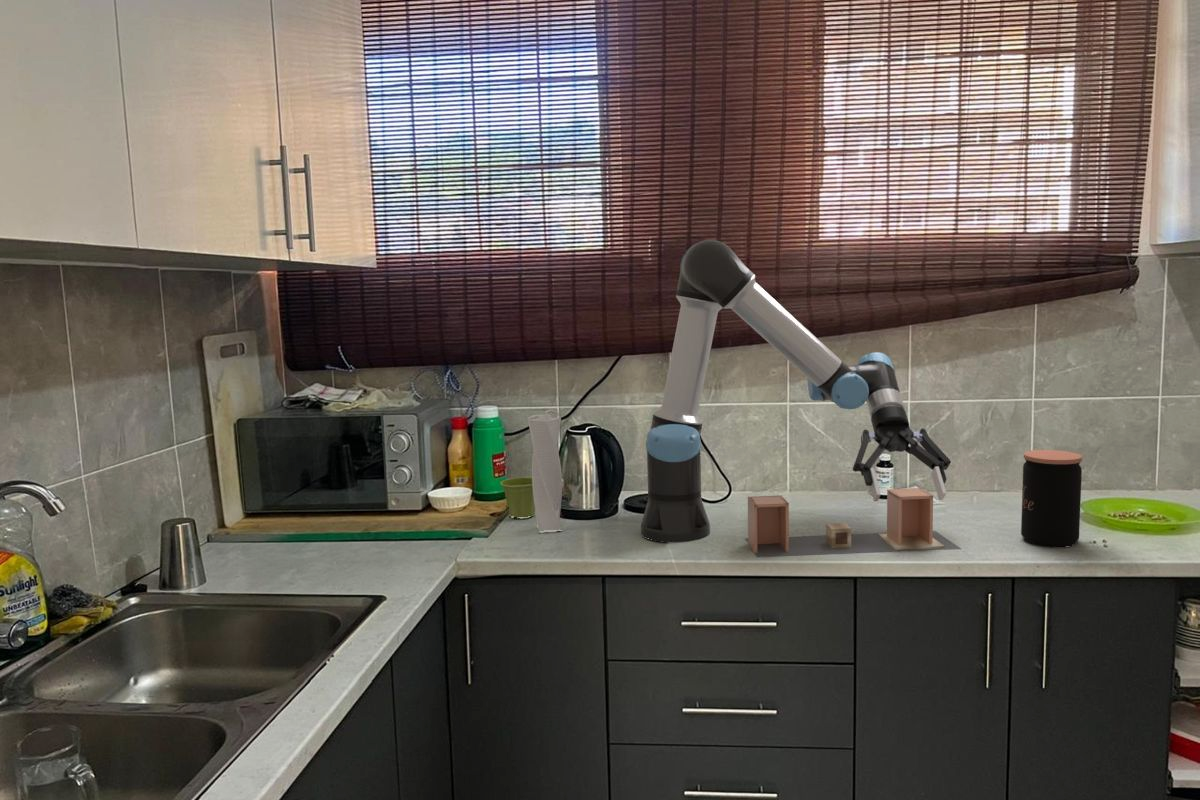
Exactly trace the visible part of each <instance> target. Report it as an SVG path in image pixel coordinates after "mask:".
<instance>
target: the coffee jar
mask: <svg viewBox="0 0 1200 800" xmlns="http://www.w3.org/2000/svg"><path fill="white" fill-rule="evenodd" d="M1023 459H1024V460H1025V462H1024V463H1023V465H1022V488H1021V489H1022V490H1021V492H1022V493H1021V495H1022V496H1021V521H1020V522H1021V525H1020V535H1021V536H1022V538H1023V540H1024V541H1025V542H1027V543H1029V544H1031V545H1036V546H1039V547H1044V546H1045V548H1053V547H1063V548H1067V547H1066V546H1070V547H1073V546H1074V544H1075V545H1076V543H1078V541H1079V539H1080V525H1081V502H1082V501H1081V498H1082V497H1081V496H1082V474H1083V472H1082V467H1081V465H1080V464H1081V462H1082V461H1083V456H1082V454H1079V453H1076V452H1071V451H1067V450H1058V449H1032V450H1028V451H1027V450H1026V451H1024V452H1023ZM1072 545H1073V546H1072Z"/></svg>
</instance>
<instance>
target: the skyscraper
mask: <svg viewBox="0 0 1200 800" xmlns="http://www.w3.org/2000/svg"><path fill="white" fill-rule="evenodd" d="M551 412H553V413H555V414H556V415H557V416H558V417H552V414H548V413H551ZM532 418H533V419H532ZM527 422H528V426H529V427H528V428H529V433H530V434H529V435H530V438H531V442H532V447H533V449H532V451H533V452H532V459H531V460H532V461H531V478H532V487H533V497H534V505H535V517H536V525H538V529H537V531H538V530H539V531H544V530H559V529H560V530H562V527H561V524H560V518H561V517H560V516H561V510H562V509H561V508H562V495H563V494H562V492H563V474H562V464H561V458H560V455H559V451H558V442H559V438H560V437H559V436H560V431H561V429H560V428H561V422H562V417H561V416H560V413H559V412H558V411H557V410H556V409H547V410H546V411H545V412H544V414H540V413H539V414H538V413H537V414H533V415H530V416H529V417H528V418H527ZM539 531H538V532H539ZM562 531H563V530H562Z"/></svg>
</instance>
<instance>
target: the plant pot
mask: <svg viewBox="0 0 1200 800" xmlns="http://www.w3.org/2000/svg"><path fill="white" fill-rule="evenodd" d="M500 485H501V487H502V489H503V492H504V496H505V500H506V501H505V502H506V505H507V506H508V507H509V512H508V516H509V515H511V516H514V517H528V516H532V515H534V514H535V515H536V512H535V505H534V497H533V487H532V477H514V478H508V479H504V480H502V481H500ZM508 507H507V508H508ZM535 515H534V516H535ZM532 517H533V516H532Z"/></svg>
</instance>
